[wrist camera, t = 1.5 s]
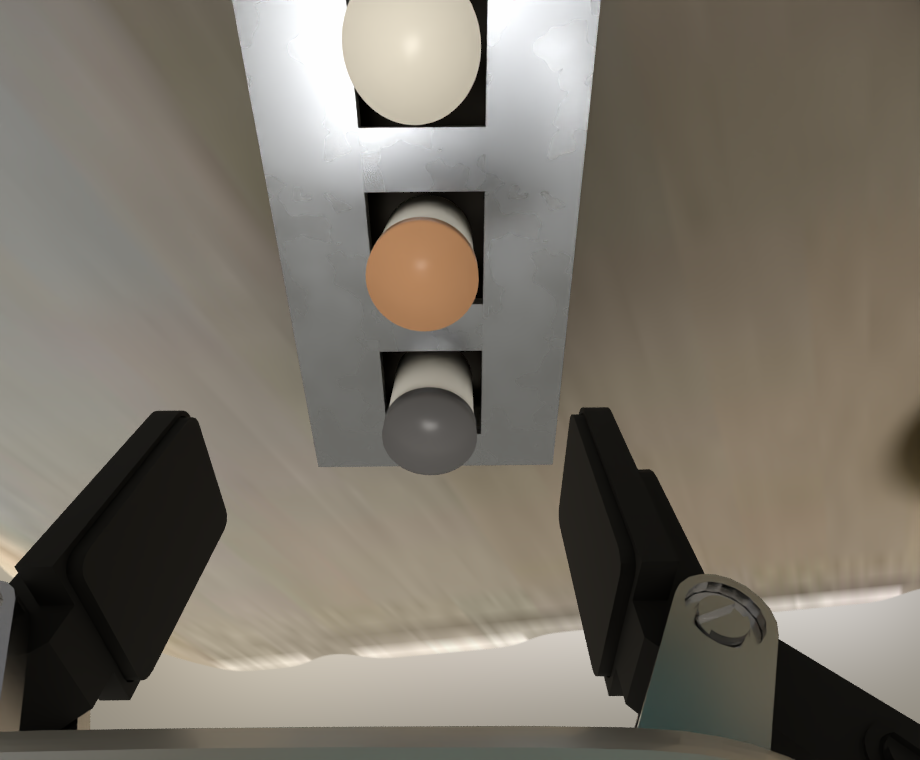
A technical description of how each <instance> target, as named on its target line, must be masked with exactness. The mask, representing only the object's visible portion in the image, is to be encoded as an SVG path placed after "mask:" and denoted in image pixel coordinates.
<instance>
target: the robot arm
mask: <svg viewBox="0 0 920 760" xmlns="http://www.w3.org/2000/svg"><path fill="white" fill-rule="evenodd" d="M226 522H227V513H226V509H225V505H224V502H223V499H222V496H221V493H220V489H219V486H218V483H217V480H216V477H215V473H214V470H213V467H212V464H211V461H210V457H209V454H208V451H207V448H206V445H205V441H204V438H203V435H202V432H201V429H200V426H199V423H198V421H197V419H196V418H193V417H190V415H189V414H188V413H187V412H186V411H155V412H153V413H152V414H151V415H150V416H149V417H148V418H147V419H146V420H145V421H144V422H143V424H142V425H141V426H140V427H139V428H138V429H137V430H136V431H135V433H134V434H133V435H132V436H131V437H130V438H129V439H128V440H127V441H126V443H125V444H124V445H123V446H122V447H121V448H120V449H119V450H118V452H117V453H116V454H115V455H114V456H113V457H112V458H111V459H110V460H109V462H108V463H107V464H106V465H105V466H104V467H103V468H102V469H101V471H100V472H99V473H98V474H97V475H96V476H95V477H94V478H93V479H92V481H91V482H90V483H89V484H88V485H87V486H86V487H85V488H84V490H83V491H82V492H81V493H80V494H79V495H78V496H77V497H76V499H75V500H74V501H73V502H72V503H71V504H70V505H69V506H68V507H67V509H66V510H65V511H64V512H63V513H62V514H61V515H60V516H59V518H58V519H57V520H56V521H55V522H54V523H53V524H52V525H51V526H50V528H49V529H48V530H47V531H46V532H45V533H44V534H43V535H42V537H41V538H40V539H39V540H38V541H37V542H36V543H35V544H34V545H33V547H32V548H31V549H30V550H29V551H28V552H27V553H26V554H25V556H24V557H23V558H22V559H21V560H20V561H19V562H18V563H17V564H16V566H15V568H16V570H17V572H18V574H17V575H16V576H15V577H14V578H13V580H12V581H11V582H10V583H7V582H4V581H0V760H920V724H918V723H917V722H915V721H913V720H912V719H910V718H908V717H907V716H905V715H903V714H902V713H900V712H898V711H897V710H895V709H894V708H892V707H890V706H889V705H887V704H885V703H883V702H882V701H880V700H878V699H877V698H875V697H874V696H872V695H870V694H869V693H867V692H865V691H864V690H862V689H860V688H859V687H857V686H855V685H854V684H852V683H850V682H849V681H847V680H845V679H844V678H842V677H840V676H839V675H837V674H835V673H834V672H832V671H831V670H829V669H827V668H826V667H824V666H822V665H820V664H819V663H817V662H816V661H814V660H812V659H811V658H809V657H807V656H806V655H804V654H802V653H801V652H799V651H797V650H796V649H794V648H792V647H791V646H789V645H788V644H786V643H784V642H783V641H781V640H779V639H778V638H779V637H778V636H779V634H778V627H777V622H776V620H775V618H774V616H773V614H772V612H771V610H770V608H769V607H768V606H767V605H766V604H765V603H764V601H763V600H762V599H761V598H760V597H759V596H758V595H757V594H755V593H754V592H753V591H751V590H750V589H749V588H747V587H746V586H744V585H742V584H740V583H738V582H736V581H734V580H732V579H730V578H726V577H722V576H719V575H714V574H704V572H703V570H702V568H701V566H700V564H699V562H698V560H697V558H696V555H695V553H694V551H693V549H692V547H691V545H690V543H689V541H688V539H687V537H686V535H685V533H684V531H683V529H682V527H681V525H680V523H679V521H678V519H677V517H676V515H675V513H674V511H673V509H672V507H671V505H670V503H669V501H668V499H667V497H666V495H665V493H664V491H663V489H662V487H661V485H660V483H659V481H658V479H657V477H656V475H655V474H654V472H653V471H651V470H650V469H646V470H638V469H637V467H636V465H635V463H634V460H633V458H632V456H631V454H630V452H629V449H628V447H627V445H626V443H625V441H624V438H623V436H622V434H621V432H620V430H619V427H618V425H617V423H616V421H615V419H614V416H613V414H612V412H611V410H610V409H609V408H608V407H599V408H581V409H580V412H579V415H571V417H570V423H569V431H568V439H567V447H566V455H565V464H564V472H563V480H562V488H561V496H560V505H559V523H560V529H561V533H562V538H563V542H564V546H565V551H566V555H567V559H568V564H569V568H570V573H571V577H572V581H573V586H574V590H575V595H576V599H577V603H578V608H579V612H580V617H581V621H582V625H583V630H584V634H585V639H586V642H587V647H588V651H589V656H590V660H591V665H592V668H593V672H594V674H595V676H604V678H605V682H606V686H607V690H608V694H609V696H624V699H625V703H626V704H627V705H628V706H629V707H630V708H632V709H633V710H634V711H635V712H637V713H638V716H637V719H636V723H635V726H634V728H623V727H555V726H554V727H553V726H463V727H462V726H460V727H459V726H449V727H448V726H445V727H443V726H441V727H440V726H438V727H434V726H433V727H287V728H286V727H285V728H282V727H279V728H188V729H187V728H186V729H185V728H182V729H113V730H90V710H91V709H92V708H93V707H94V705H95V703H96V701H97V700H98V699H99V700H130V699H131V697H132V695H133V693H134V692H135V690H136V688H137V686H138V684H139V682H140V680H145V679H147V677H148V676H149V675H150V674H151V672H152V671H153V669H154V667H155V665H156V663H157V661H158V659H159V657H160V655H161V653H162V651H163V649H164V647H165V645H166V643H167V641H168V639H169V637H170V636H171V634H172V632H173V630H174V628H175V626H176V624H177V622H178V620H179V618H180V616H181V614H182V612H183V610H184V608H185V606H186V604H187V602H188V600H189V598H190V596H191V594H192V592H193V590H194V588H195V586H196V584H197V582H198V580H199V578H200V576H201V574H202V573H203V571H204V569H205V567H206V565H207V563H208V561H209V559H210V557H211V555H212V553H213V551H214V549H215V547H216V545H217V543H218V541H219V539H220V537H221V535H222V533H223V531H224V529H225V526H226Z"/></svg>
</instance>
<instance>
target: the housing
mask: <svg viewBox="0 0 920 760" xmlns="http://www.w3.org/2000/svg"><path fill="white" fill-rule="evenodd" d="M232 1H233V7H234V12H235V17H236V23H237V28H238V34H239V39H240V44H241V50H242V55H243V61H244V66H245V71H246V77H247V82H248V88H249V93H250V99H251V104H252V109H253V115H254V120H255V126H256V131H257V136H258V142H259V147H260V153H261V158H262V164H263V169H264V174H265V180H266V185H267V191H268V196H269V201H270V207H271V212H272V218H273V223H274V228H275V234H276V239H277V245H278V250H279V256H280V261H281V266H282V272H283V277H284V283H285V288H286V293H287V299H288V304H289V310H290V315H291V321H292V326H293V331H294V337H295V342H296V348H297V353H298V358H299V364H300V369H301V375H302V380H303V385H304V391H305V396H306V402H307V407H308V413H309V418H310V423H311V429H312V434H313V440H314V445H315V450H316V456H317V461H318V467H360V466H399V465H398V464H396V463H395V462H394V461H393V460H392V459H391V458H390V457H389V455H388V454H387V452H386V450H385V448H384V445H383V441H382V430H383V425H384V420H385V416H386V413H387V411H388V408H389V406H390V401H387V400H386V390H385V379H384V368H383V357H382V352H389V351H482V363H481V400H473V410H474V415H475V419H476V429H477V443H476V447H475V450H474V452H473V454H472V455H471V457H470V458H469V459H468V460H467V461H466V462H465V463H464V464H463V465H551V464H553V455H554V445H555V435H556V426H557V416H558V406H559V397H560V387H561V378H562V368H563V358H564V349H565V339H566V329H567V320H568V310H569V300H570V291H571V281H572V271H573V262H574V252H575V242H576V233H577V223H578V214H579V204H580V194H581V185H582V175H583V165H584V156H585V146H586V136H587V127H588V117H589V107H590V98H591V88H592V78H593V69H594V59H595V49H596V40H597V30H598V21H599V11H600V1H601V0H487V18H486V87H485V125H462V126H361V121H360V111H359V100H358V92H357V90H356V89H355V87H354V85H353V84H352V82H351V80H350V77H349V75H348V72H347V70H346V66H345V62H344V58H343V52H342V39H341V37H342V25H343V20H344V15H345V12H346V9H347V6H348V3H349V0H232ZM454 191H484V225H483V294H482V298H475V299H474V301H473V303H472V305H471V307H470V308H469V310H468V311H467V312H466V313H465V314H464V315H463V316H462V317H461V318H460V319H459V320H458V321H456V322H455V323H453V324H451V325H449V326H447V327H445V328H442V329H439V330H434V331H414V330H409V329H406V328H403V327H401V326H398V325H396V324H394V323H393V322H391V321H390V320H388V319H387V318H386V317H385V316H384V315H383V314H381V313H380V311H379V310H378V309H377V308H376V306H375V305H374V303H373V302H372V300H371V297H370V295H369V292H368V289H367V285H366V266H367V262H368V258H369V256H370V253H371V251H372V239H371V229H370V218H369V207H368V197H367V192H454Z"/></svg>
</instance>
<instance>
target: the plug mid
mask: <svg viewBox="0 0 920 760" xmlns="http://www.w3.org/2000/svg"><path fill="white" fill-rule="evenodd" d="M478 282H479V277H478V266H477V260H476V256H475V253H474V250H473V240H472V232H471V227H470V224H469V222H468V219H467V217H466V216H465V214H464V213H463V212H462V210H461V209H460V208H459V207H458V206H457V205H456V204H454V203H453V202H451V201H450V200H448V199H446V198H443V197H440V196H436V195H419V196H415V197H412V198H409V199H408V200H406V201H404V202H403V203H401V204H400V205H399V206H398V207H397V208H396V209H395V210H394V212H393V213H392V215H391V216H390V218H389V220H388V222H387V225H386V227H385V229H384V231H383V233H382V235H381V236H380V237H379V238H378V240H377V242H376V243H375V245H374V247H373V249H372V251H371V253H370V256H369V258H368V262H367V266H366V285H367V289H368V292H369V295H370V297H371V300H372V302H373V303H374V305H375V306H376V308H377V309H378V310H379V311H380V313H381V314H383V315H384V316H385V317H386V318H387V319H388V320H390V321H391V322H393V323H394V324H396V325H398V326H401V327H403V328H406V329H409V330H414V331H434V330H439V329H442V328H445V327H447V326H449V325H451V324H453V323H455V322H456V321H458V320H459V319H460V318H461V317H462V316H463V315H464V314H465V313H466V312H467V311H468V310H469V308H470V307H471V305H472V303H473V301H474V299H475V296H476V294H477V289H478Z"/></svg>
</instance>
